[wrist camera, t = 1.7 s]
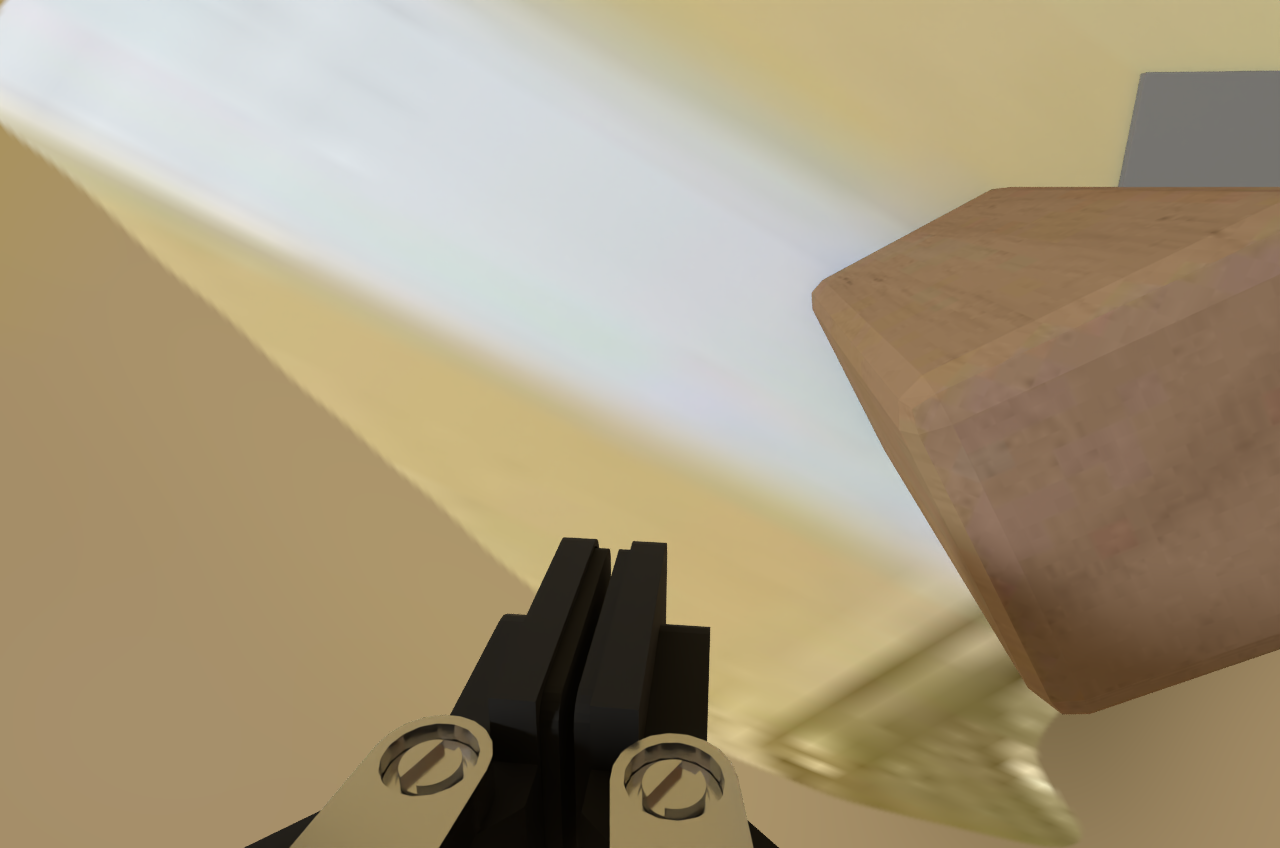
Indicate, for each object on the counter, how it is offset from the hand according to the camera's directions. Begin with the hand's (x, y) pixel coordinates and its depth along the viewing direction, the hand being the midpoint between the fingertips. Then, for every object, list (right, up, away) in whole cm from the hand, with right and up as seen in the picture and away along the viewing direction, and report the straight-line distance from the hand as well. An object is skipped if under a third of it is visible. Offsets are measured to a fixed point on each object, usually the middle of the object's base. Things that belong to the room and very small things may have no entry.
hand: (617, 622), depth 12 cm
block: (+15, +8, +23) cm, 29 cm away
